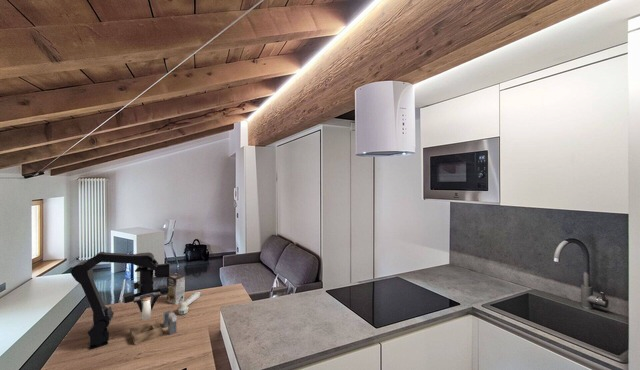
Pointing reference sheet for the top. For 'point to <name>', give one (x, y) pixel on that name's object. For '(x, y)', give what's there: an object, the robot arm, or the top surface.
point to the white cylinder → (146, 307)
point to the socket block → (146, 332)
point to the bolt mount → (169, 323)
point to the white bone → (188, 302)
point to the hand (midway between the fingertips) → (146, 310)
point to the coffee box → (176, 288)
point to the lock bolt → (172, 317)
